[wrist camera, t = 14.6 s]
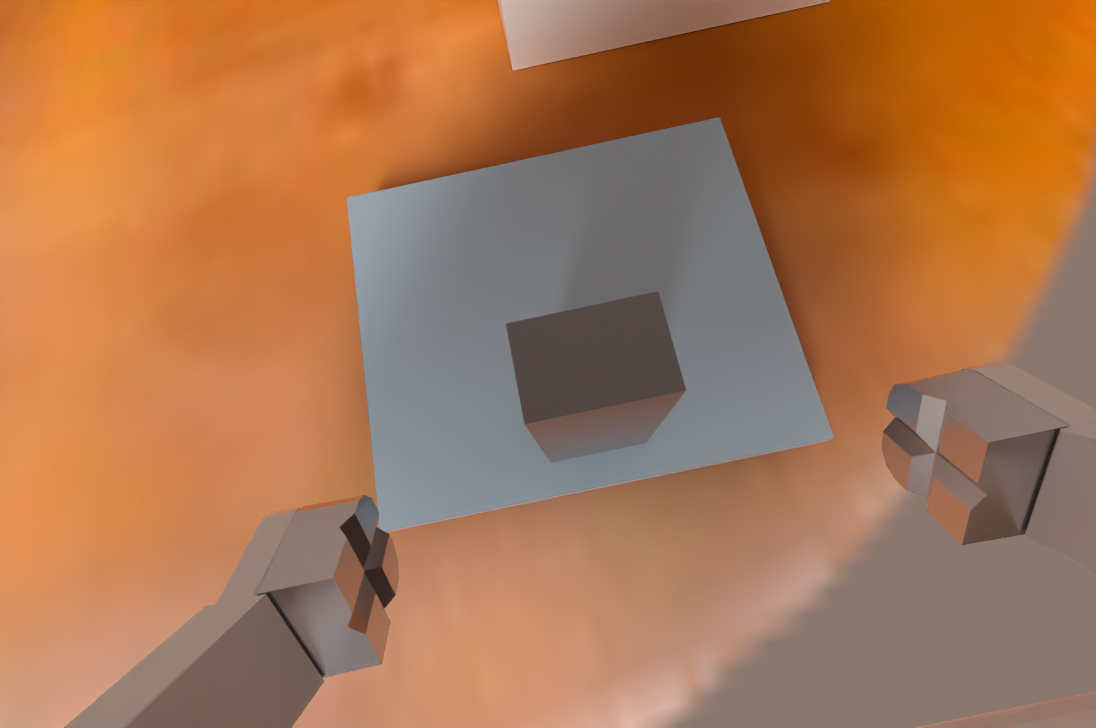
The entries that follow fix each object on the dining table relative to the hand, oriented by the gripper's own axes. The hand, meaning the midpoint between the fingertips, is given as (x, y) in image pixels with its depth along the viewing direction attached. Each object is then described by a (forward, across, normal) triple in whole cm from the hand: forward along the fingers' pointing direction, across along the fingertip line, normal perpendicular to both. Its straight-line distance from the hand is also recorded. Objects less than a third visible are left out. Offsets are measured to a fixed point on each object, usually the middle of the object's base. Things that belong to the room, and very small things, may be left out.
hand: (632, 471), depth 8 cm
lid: (+11, 0, +2) cm, 11 cm away
